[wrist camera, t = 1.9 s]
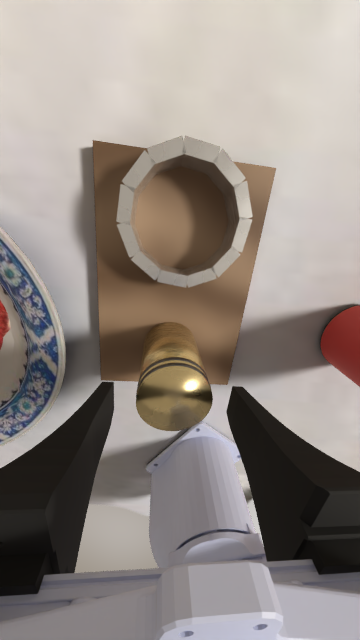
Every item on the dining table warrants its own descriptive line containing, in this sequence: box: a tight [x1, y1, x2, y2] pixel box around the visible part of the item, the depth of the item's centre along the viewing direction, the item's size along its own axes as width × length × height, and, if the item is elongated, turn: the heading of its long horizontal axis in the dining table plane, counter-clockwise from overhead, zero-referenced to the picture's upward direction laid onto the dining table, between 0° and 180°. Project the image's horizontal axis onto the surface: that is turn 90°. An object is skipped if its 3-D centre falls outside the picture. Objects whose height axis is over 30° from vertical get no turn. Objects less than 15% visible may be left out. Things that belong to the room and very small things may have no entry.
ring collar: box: [116, 136, 253, 288], centre depth 15 cm, size 8×8×2 cm
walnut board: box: [93, 140, 276, 385], centre depth 18 cm, size 18×12×1 cm, turn 174°
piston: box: [136, 322, 213, 431], centre depth 16 cm, size 5×5×7 cm
